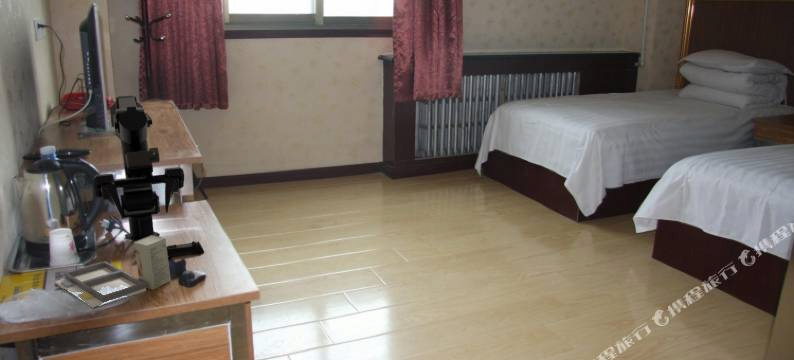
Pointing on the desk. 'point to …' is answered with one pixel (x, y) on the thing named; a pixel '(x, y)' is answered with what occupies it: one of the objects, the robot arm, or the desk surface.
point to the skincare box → (152, 261)
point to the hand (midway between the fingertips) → (145, 214)
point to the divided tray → (100, 283)
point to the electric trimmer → (184, 249)
